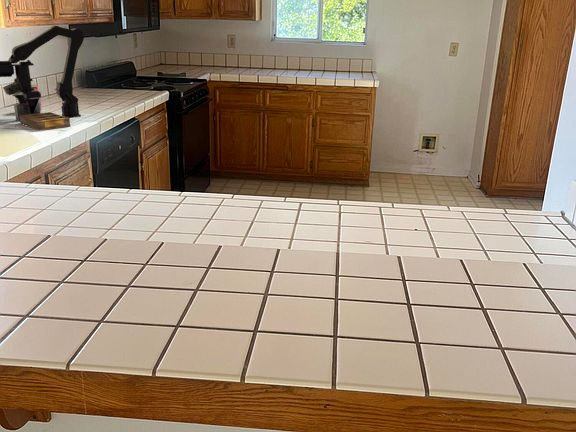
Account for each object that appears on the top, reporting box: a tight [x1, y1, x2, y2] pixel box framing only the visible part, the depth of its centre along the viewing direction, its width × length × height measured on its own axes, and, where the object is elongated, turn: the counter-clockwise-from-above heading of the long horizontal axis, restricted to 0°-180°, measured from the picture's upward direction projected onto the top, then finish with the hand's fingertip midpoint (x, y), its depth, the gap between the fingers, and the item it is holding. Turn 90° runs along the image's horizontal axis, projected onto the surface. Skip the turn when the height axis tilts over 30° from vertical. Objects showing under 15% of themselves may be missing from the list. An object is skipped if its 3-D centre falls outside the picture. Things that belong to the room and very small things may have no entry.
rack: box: [19, 111, 71, 131], centre depth 241 cm, size 14×18×4 cm
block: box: [13, 103, 42, 122], centre depth 251 cm, size 10×3×7 cm, turn 136°
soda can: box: [27, 84, 43, 111], centre depth 269 cm, size 7×7×12 cm
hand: (28, 112), depth 251 cm, fingers open, 9 cm apart
